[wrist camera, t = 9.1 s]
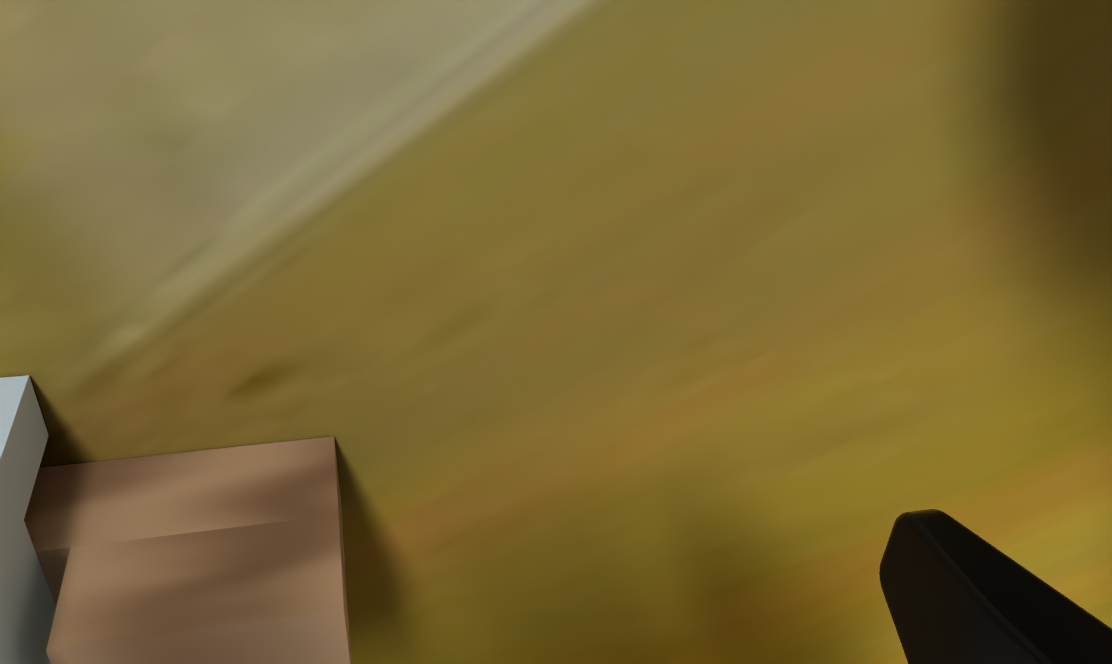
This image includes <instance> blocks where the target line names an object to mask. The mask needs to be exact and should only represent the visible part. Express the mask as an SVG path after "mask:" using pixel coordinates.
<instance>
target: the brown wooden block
mask: <svg viewBox="0 0 1112 664" xmlns="http://www.w3.org/2000/svg"><path fill="white" fill-rule="evenodd" d="M24 522H25V525H26V528H27V530H28V533H29V536H30V538H31V541H32V544H33V547H34V549H35V552H36V555H37V557H38V560H39V563H40V565H41V568H42V571H43V574H44V576H45V579H46V582H47V584H48V587H49V590H50V592H51V595H52V598H53V601H54V603H55V606H56V611H55V615H54V620H53V624H52V628H51V632H50V637H49V641H48V645H47V650H46V652H47V655H48V657H49V660H50V663H51V664H351V652H350V635H349V619H348V602H347V586H346V569H345V553H344V536H343V520H342V504H341V495H340V486H339V477H338V468H337V459H336V450H335V441H334V437H324V438H315V439H305V440H296V441H287V442H277V443H268V444H258V445H249V446H239V447H230V448H221V449H211V450H202V451H192V452H183V453H173V454H164V455H155V456H145V457H136V458H126V459H117V460H107V461H98V462H89V463H79V464H70V465H60V466H51V467H42V468H39V470H38V473H37V477H36V480H35V484H34V487H33V491H32V494H31V497H30V501H29V504H28V508H27V511H26V514H25V518H24Z"/></svg>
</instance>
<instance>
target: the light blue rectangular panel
mask: <svg viewBox="0 0 1112 664" xmlns="http://www.w3.org/2000/svg"><path fill="white" fill-rule="evenodd" d="M48 436H49V435H48V432H47V429H46V426H45V423H44V420H43V416H42V413H41V410H40V407H39V404H38V401H37V398H36V395H35V392H34V389H33V386H32V383H31V380H30V377H29V375H27V376H15V377H4V378H0V664H51V663H50V660H49V657H48V655H47V652H46V650H47V645H48V641H49V637H50V632H51V628H52V624H53V620H54V615H55V611H56V606H55V603H54V601H53V598H52V595H51V592H50V590H49V587H48V584H47V582H46V579H45V576H44V574H43V571H42V568H41V565H40V563H39V560H38V557H37V555H36V552H35V549H34V547H33V544H32V541H31V538H30V536H29V533H28V530H27V528H26V525H25V522H24V518H25V514H26V511H27V508H28V504H29V501H30V497H31V494H32V491H33V487H34V484H35V480H36V477H37V473H38V470H39V467H40V463H41V460H42V456H43V453H44V450H45V446H46V443H47V439H48Z"/></svg>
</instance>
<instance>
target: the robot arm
mask: <svg viewBox="0 0 1112 664" xmlns="http://www.w3.org/2000/svg"><path fill="white" fill-rule="evenodd" d="M880 582H881V587H882V590H883V593H884V596H885V599H886V602H887V604H888V607H889V610H890V613H891V616H892V619H893V622H894V624H895V627H896V630H897V633H898V636H899V639H900V641H901V644H902V647H903V650H904V653H905V656H906V658H907V661H908V664H1112V629H1111V628H1110V627H1109V626H1107V625H1106V624H1104V623H1103V622H1101V621H1100V620H1099V619H1097V618H1096V617H1094V616H1093V615H1091V614H1090V613H1088V612H1087V611H1086V610H1084V609H1083V608H1081V607H1080V606H1078V605H1077V604H1076V603H1074V602H1073V601H1071V600H1070V599H1068V598H1067V597H1065V596H1064V595H1063V594H1061V593H1060V592H1058V591H1057V590H1055V589H1054V588H1053V587H1051V586H1050V585H1048V584H1047V583H1045V582H1044V581H1042V580H1041V579H1040V578H1038V577H1037V576H1035V575H1034V574H1032V573H1031V572H1030V571H1028V570H1027V569H1025V568H1024V567H1022V566H1021V565H1019V564H1018V563H1017V562H1015V561H1014V560H1012V559H1011V558H1009V557H1008V556H1007V555H1005V554H1004V553H1002V552H1001V551H999V550H998V549H996V548H995V547H994V546H992V545H991V544H989V543H988V542H986V541H985V540H984V539H982V538H981V537H979V536H978V535H976V534H975V533H974V532H972V531H971V530H969V529H968V528H966V527H965V526H963V525H962V524H961V523H959V522H958V521H956V520H955V519H953V518H952V517H951V516H949V515H948V514H946V513H944V512H942V511H940V510H935V509H929V510H921V511H913V512H905V513H902V514H901V515H900V516H899V517H898V518H897V519H896V521H895V523H894V526H893V529H892V532H891V534H890V537H889V540H888V543H887V546H886V549H885V552H884V555H883V558H882V561H881V564H880Z"/></svg>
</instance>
